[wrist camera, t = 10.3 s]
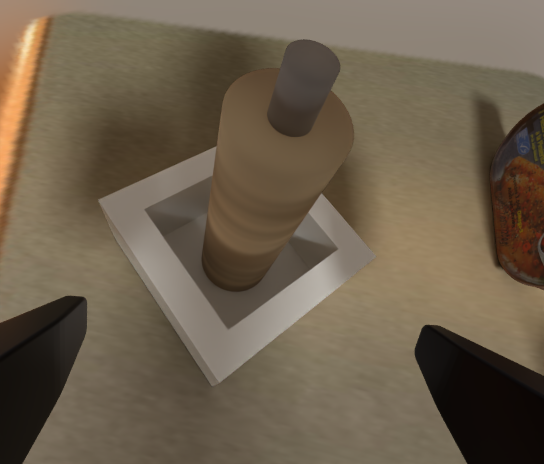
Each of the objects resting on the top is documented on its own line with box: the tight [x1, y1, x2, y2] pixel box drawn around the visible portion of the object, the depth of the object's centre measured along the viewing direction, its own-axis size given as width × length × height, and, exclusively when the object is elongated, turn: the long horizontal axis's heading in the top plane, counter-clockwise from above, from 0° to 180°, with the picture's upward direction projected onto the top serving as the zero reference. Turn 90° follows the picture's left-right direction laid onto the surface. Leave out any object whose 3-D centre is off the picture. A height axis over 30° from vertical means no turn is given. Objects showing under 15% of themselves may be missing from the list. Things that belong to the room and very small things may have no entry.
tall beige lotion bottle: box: [202, 40, 354, 292], centre depth 15 cm, size 4×4×14 cm
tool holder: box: [98, 146, 376, 387], centre depth 19 cm, size 10×10×4 cm
